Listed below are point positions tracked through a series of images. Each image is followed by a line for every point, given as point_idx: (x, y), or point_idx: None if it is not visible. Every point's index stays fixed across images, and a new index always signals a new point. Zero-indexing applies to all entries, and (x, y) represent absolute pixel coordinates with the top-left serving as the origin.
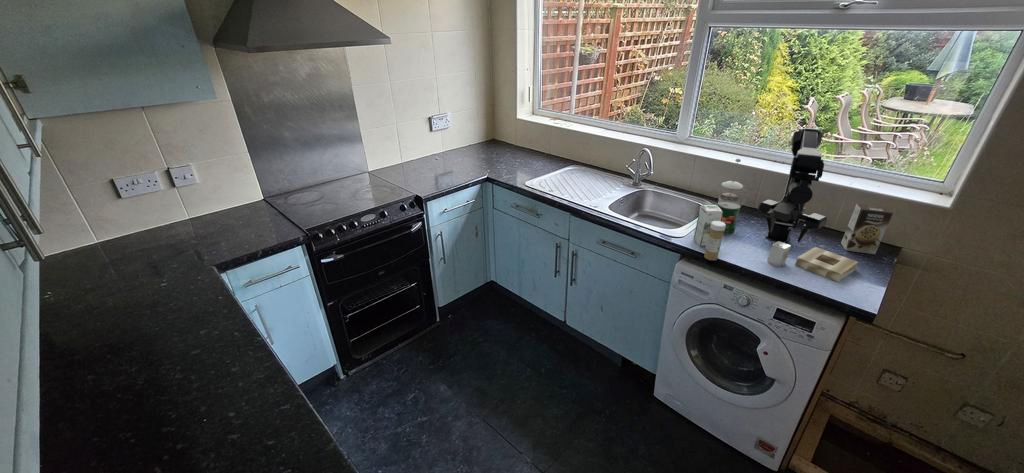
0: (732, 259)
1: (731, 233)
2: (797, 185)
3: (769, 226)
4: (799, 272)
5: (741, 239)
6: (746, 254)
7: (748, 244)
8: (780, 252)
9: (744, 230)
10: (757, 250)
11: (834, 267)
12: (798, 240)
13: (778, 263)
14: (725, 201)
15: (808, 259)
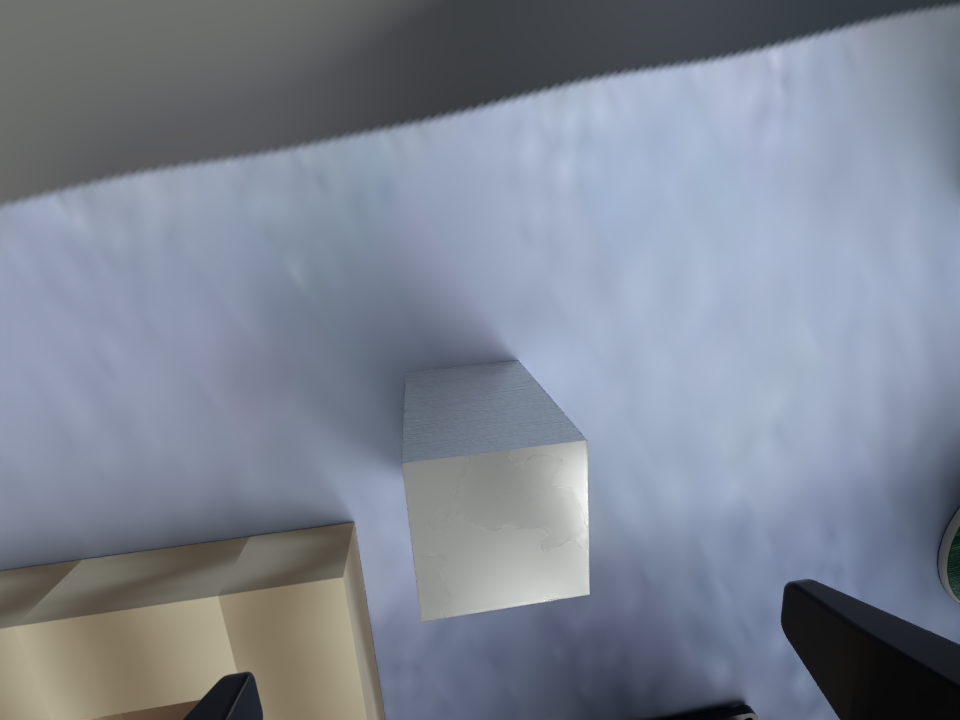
0: (742, 108)
1: (953, 537)
2: None
3: (950, 660)
4: (247, 441)
5: (853, 529)
6: (706, 328)
7: (778, 504)
8: (440, 425)
9: None
10: (682, 478)
11: (17, 705)
12: (216, 709)
13: (420, 379)
14: None
15: (259, 632)
